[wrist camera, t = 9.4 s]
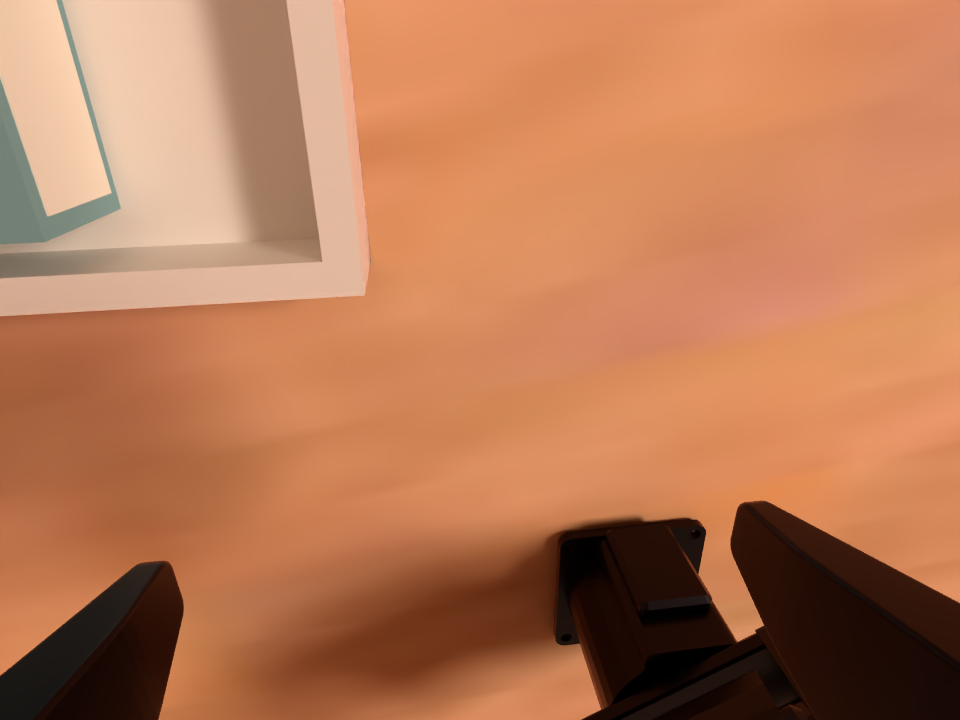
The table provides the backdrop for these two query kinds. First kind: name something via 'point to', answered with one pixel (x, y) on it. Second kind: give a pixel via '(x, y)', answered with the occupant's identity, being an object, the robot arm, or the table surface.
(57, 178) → the book
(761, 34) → the table surface
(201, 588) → the table surface
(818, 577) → the robot arm
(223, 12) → the book tray
